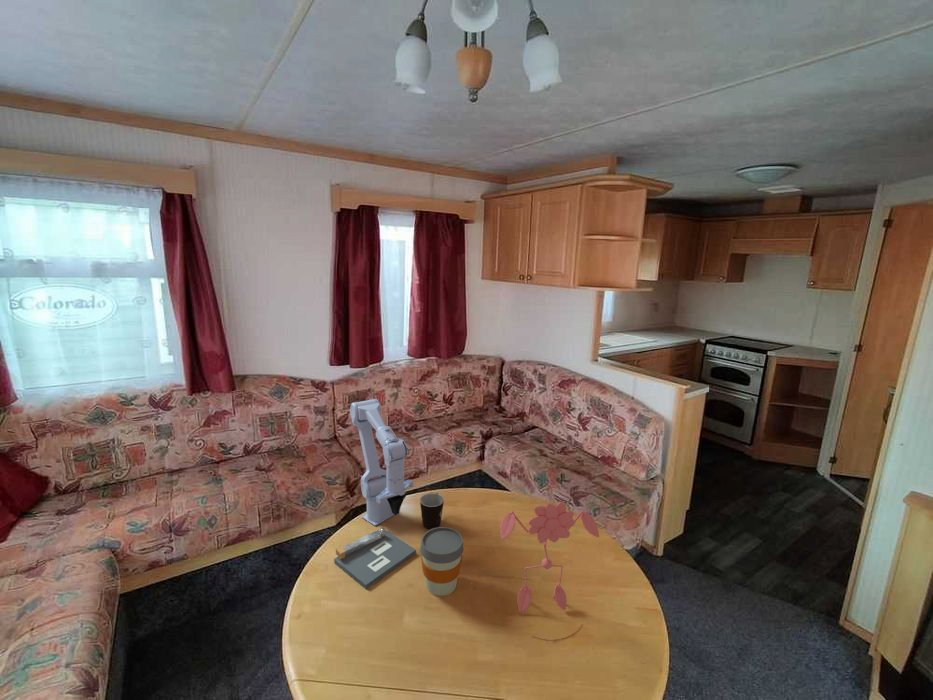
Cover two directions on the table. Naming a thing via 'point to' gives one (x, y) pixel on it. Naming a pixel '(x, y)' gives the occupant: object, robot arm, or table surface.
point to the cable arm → (358, 544)
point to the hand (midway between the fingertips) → (395, 513)
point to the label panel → (375, 559)
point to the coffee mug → (431, 510)
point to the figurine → (548, 526)
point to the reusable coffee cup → (441, 559)
